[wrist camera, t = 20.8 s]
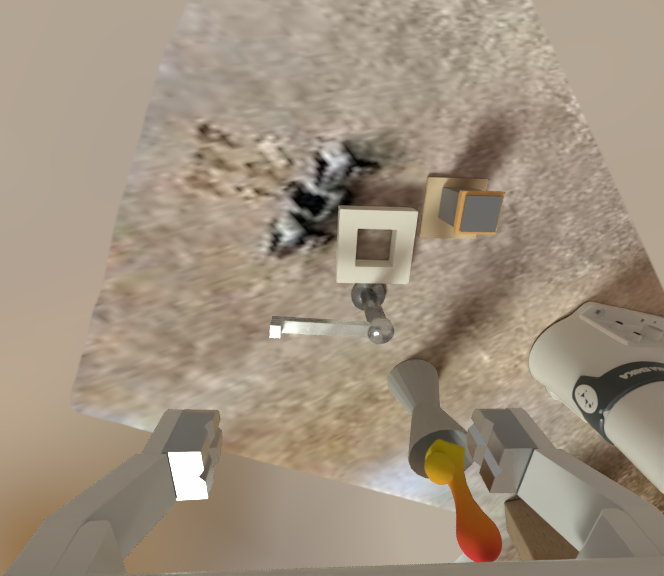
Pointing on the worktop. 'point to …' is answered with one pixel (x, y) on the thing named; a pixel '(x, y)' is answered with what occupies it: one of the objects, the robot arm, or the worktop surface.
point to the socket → (400, 247)
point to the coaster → (430, 220)
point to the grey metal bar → (334, 327)
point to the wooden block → (535, 534)
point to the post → (369, 299)
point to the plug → (471, 210)
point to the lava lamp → (443, 454)
